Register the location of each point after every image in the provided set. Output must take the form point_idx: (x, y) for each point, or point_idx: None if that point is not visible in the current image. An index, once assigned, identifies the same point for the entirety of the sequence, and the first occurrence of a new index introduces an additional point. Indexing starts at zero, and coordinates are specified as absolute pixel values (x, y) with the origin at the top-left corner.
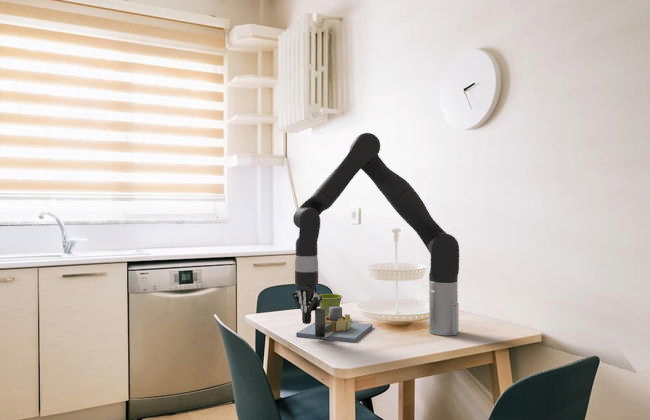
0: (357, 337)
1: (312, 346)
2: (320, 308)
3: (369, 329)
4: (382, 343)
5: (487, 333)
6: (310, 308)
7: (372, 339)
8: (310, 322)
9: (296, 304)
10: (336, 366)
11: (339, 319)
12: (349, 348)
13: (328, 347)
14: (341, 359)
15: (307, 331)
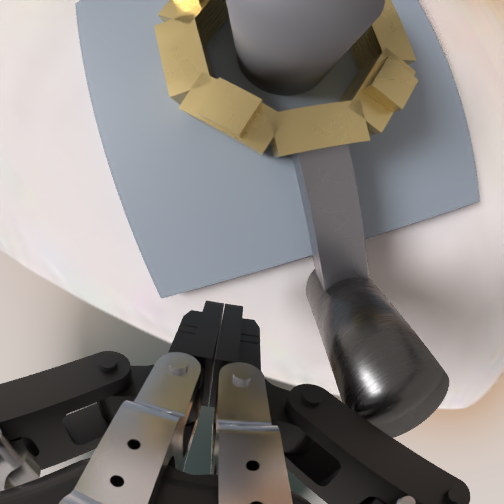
0: (469, 155)
1: None
2: (399, 397)
3: None
4: None
5: None
6: (313, 458)
7: (489, 112)
8: (242, 306)
9: (83, 424)
10: (464, 405)
11: (401, 104)
12: (474, 284)
13: None
14: (470, 374)
15: (185, 235)
